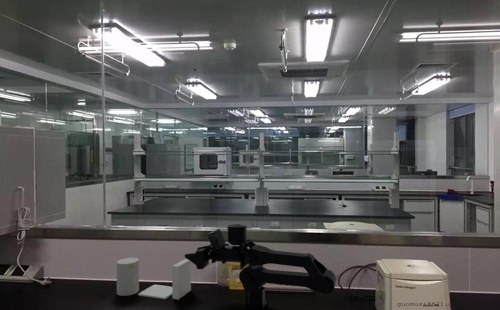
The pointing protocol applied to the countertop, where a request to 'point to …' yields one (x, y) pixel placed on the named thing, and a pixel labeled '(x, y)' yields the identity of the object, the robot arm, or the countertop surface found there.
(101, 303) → the countertop surface
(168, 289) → the mat
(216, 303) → the countertop surface
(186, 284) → the white rectangular block
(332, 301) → the countertop surface
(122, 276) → the grey upright cylinder
